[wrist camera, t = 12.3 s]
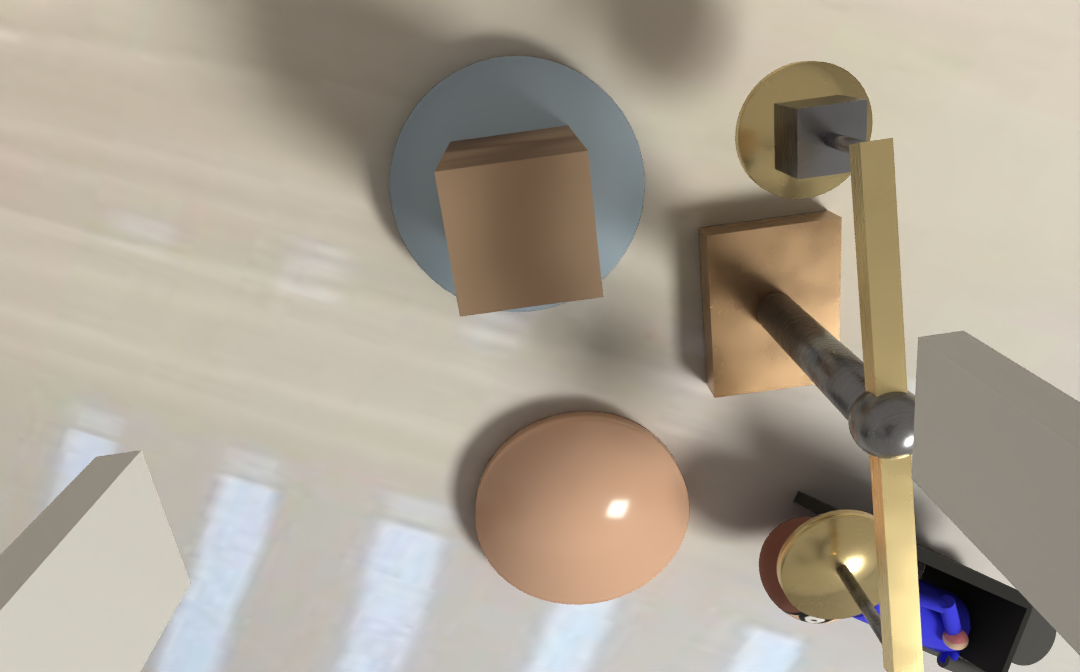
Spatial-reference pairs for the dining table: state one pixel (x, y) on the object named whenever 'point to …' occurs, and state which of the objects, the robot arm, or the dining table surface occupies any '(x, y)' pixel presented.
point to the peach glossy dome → (581, 508)
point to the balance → (824, 336)
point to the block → (519, 220)
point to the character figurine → (943, 608)
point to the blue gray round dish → (508, 107)
